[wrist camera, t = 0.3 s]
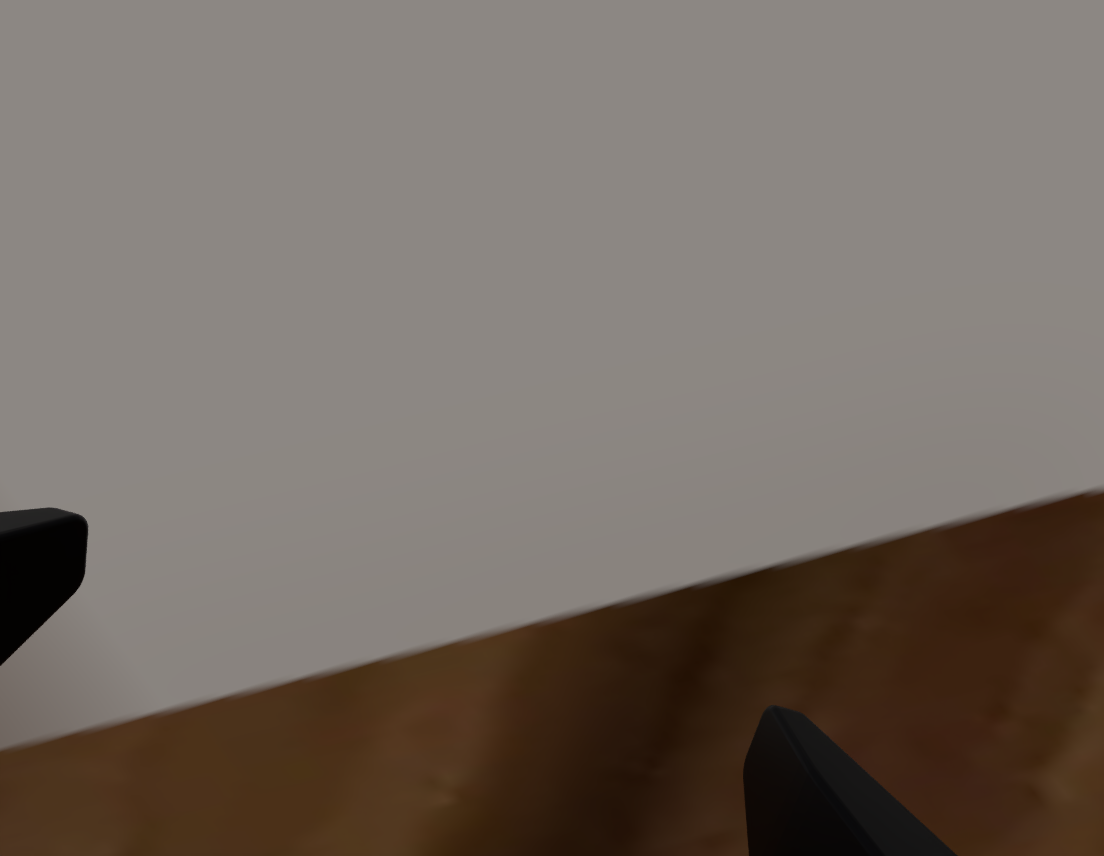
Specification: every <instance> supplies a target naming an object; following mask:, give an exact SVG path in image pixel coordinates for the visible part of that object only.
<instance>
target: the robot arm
mask: <svg viewBox="0 0 1104 856" xmlns="http://www.w3.org/2000/svg"><path fill="white" fill-rule="evenodd" d="M87 539H88V524H87V521H86V519H85V518H84V517H83V516H81V515H79V514H76V513H72V512H68V511H65V510H61V509H58V508H40V509H29V510H19V511H10V512H9V511H8V512H0V666H1V665H2V664H3V663H4V662H5V661H6V660H7V659H8V658H9V657H10V656H11V655H12V654H13V653H14V652H15V651H16V650H17V649H18V648H19V647H20V646H21V645H22V644H23V643H24V642H25V641H26V640H27V639H28V638H29V637H30V636H31V635H32V634H33V633H34V632H35V631H37V630H38V628H40V627H41V626H42V625H43V624H44V622H46V621H47V620H48V619H49V618H50V617H51V616H52V615H53V614H54V613H55V612H56V611H57V610H58V609H59V608H60V607H61V606H62V605H63V604H64V603H65V602H66V601H67V600H68V599H69V598H70V597H71V596H72V595H73V594H74V593H75V592H76V591H77V589H78V588H79V587H80V585H81V583H82V581H83V578H84V575H85V567H86V553H87ZM743 782H744V795H745V809H746V822H747V835H748V848H749V856H957V855H956V854H955V853H954V852H953V851H952V850H951V849H950V848H949V847H947V846H946V845H945V844H944V843H943V842H942V841H941V840H940V839H939V838H938V837H937V836H935V835H934V834H933V833H932V832H931V831H930V830H929V829H928V828H927V827H926V826H925V825H924V824H922V823H921V822H920V821H919V820H918V819H917V818H916V817H915V816H914V815H913V814H912V813H910V812H909V811H908V810H907V809H906V808H905V807H904V806H903V805H902V804H901V803H900V802H899V801H897V800H896V799H895V798H894V797H893V796H892V795H891V794H890V793H889V792H888V791H887V790H885V789H884V788H883V787H882V786H881V785H880V784H879V783H878V782H877V781H876V780H875V779H874V778H872V777H871V776H870V775H869V774H868V773H867V772H866V771H865V770H864V769H863V768H862V767H860V766H859V765H858V764H857V763H856V762H855V761H854V760H853V759H852V758H851V757H850V756H848V755H847V754H846V753H845V752H844V751H843V750H842V749H841V748H840V747H839V746H838V745H837V744H835V743H834V742H833V741H832V740H831V739H830V738H829V737H828V736H827V735H826V734H825V733H823V732H822V731H821V730H820V729H819V728H818V727H817V726H816V725H815V724H814V723H813V722H812V721H810V720H809V719H808V718H807V717H806V716H805V715H804V714H802V713H800V712H798V711H794V710H791V709H787V708H783V707H780V706H776V705H771V706H769V707H767V708H766V710H765V711H764V712H763V714H762V717H761V719H760V722H759V724H758V727H757V730H756V732H755V735H754V737H753V740H752V743H751V745H750V748H749V750H748V753H747V755H746V759H745V763H744V769H743Z"/></svg>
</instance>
